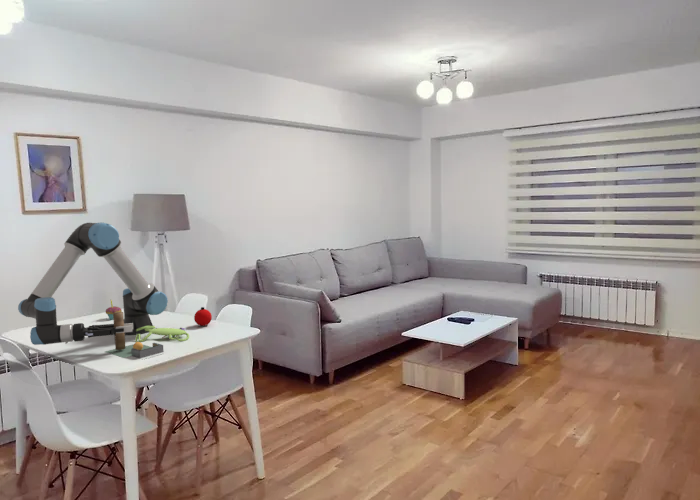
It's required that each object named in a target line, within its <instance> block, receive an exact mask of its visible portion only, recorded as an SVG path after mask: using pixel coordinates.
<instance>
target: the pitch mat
mask: <svg viewBox="0 0 700 500" xmlns="http://www.w3.org/2000/svg"><path fill="white" fill-rule="evenodd" d="M134 344H135V343H134ZM134 344H130V345H125V349H122V350H116V349H115V348H112V349H109V350H106V351H104V353H107V354H110V355H112V356H116V357H120V358H122V359H125V358H128V357H133V356H132V353H131V349H132V348H133V345H134ZM151 347H152V346H150V345H146V344H143V348H142V350H144V349H147V348H151Z"/></svg>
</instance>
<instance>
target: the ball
mask: <svg viewBox="0 0 700 500" xmlns="http://www.w3.org/2000/svg"><path fill="white" fill-rule="evenodd" d="M132 345H133V344H132ZM143 345H144V344H143V342H139V341H137V342H135V343H134V345H133V348H134V349H138V350H142V348H143Z"/></svg>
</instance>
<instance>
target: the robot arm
mask: <svg viewBox="0 0 700 500" xmlns="http://www.w3.org/2000/svg"><path fill="white" fill-rule="evenodd" d="M63 244H64V247H63V249H62V250H61V251H60V253H59V254H58V256H57V257H56V258H55V259H54V261H53V263H52V264H51V265H50V267H49V269H48V270H47V271H46V273H45V274H44V275H43V277H42V278H41V280H40V281H39V282H38V283H37V285H36V287H35V288H34V289H33V290H32V292H31V294H30V295H29V296H28V298H25V299H23V300H21V301H20V302H19V304H18V307H17V310H18V312H19V314H20V315H22V316H23V317H26V318H30V319H31V318H32V319H35V323H36V324H35V326H33V327H31V329H30V335H29V337H30V342H31V344H32V345H35V346H37V345H52V344H60V343H61V344H62V343H65V344H68V343H71V342H83V341H84V340H85V337H87V338H95V337H104V336H105V337H106V336H115V335H116V333H125V335H131V336H132V335H133V336H134V335H137V334H140V335H142V334H147V333H149V331H145V329H142V330H139V331H136V329H138V328H141V327H144V326H154V325H153V323H152V320H151V317H150V315H151V316H157V315H161V314H162V313H163V312H164V311H165V310H166V308H167V306H168V303H169V302H168V301H169V300H168V296H167V294H165V293H164V292H162V291H159V290H158V289H157V287H156V286H155V285H154V284H153V283H152V282H151V283H150V282H148V281H147V279H146V278H145V277H144V276H143V274H142V273H141V271H140V270H138V268H137V266H136V265H135V264H134V263H133V261H132V260H131V259H130V257H129V255H127V253H126V252H125V251H124V250H123V248H122V247H121V246H122V245H121V244H122V241H121V240H120V233H119V231H118V229H117V228H116V226H114V225H112V224H110V223H107V222H86V223H83V224H80V225H78V226H77V227H76V228H75V229H74V231H73V232H71V234H70V235H69V236H68V238H67V239H66V241H65V242H64V243H63ZM90 249H92V251H94V253H95V254H96V255H97V257H99V258H104V260H105V261H106V262H107V264H108V265H109V266H110V268H111V269H112V270H113V271H114V272H115V273H116V275H117V276H118V277H119V278H120V280H121V281H122V282H123V284H125V286H126V288H124V289H123V290H122V303H123V305H122V306H123V317H124V326H120V327H116V329H115V328H114V323H108V324H107V323H106V324H92V325H89V326H87V327H85V324H84V323H80V322H79V323H74V324H72V323H68V324H67V323H66V324H65V323H64V324H58V322H57V305H56V298H54V297H53V295H54V294H55V293H56V291H57V290H58V288H60V286H61V285H62V283H63V281H64V280H65V278H66V277H67V276H68V274H69V273H70V271H71V270H72V268H73V267H74V266H75V264H76V263H77V262H78V260H79V259H80V257H82V256H85V254H86V253H87V251H89V250H90Z"/></svg>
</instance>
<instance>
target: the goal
mask: <svg viewBox="0 0 700 500" xmlns="http://www.w3.org/2000/svg"><path fill="white" fill-rule="evenodd" d="M150 347H151V348H147V349H144V350H138V349H134V348H132V349H131V353H132V356H131V357H135V358H139V359H143V358H148V357H149V359H150V358H152V356H153V355H154V356H153V358H155V357H156V356H159V354H160V355H163V353H164V344H162V343H157V342H152V346H150ZM161 353H162V354H161ZM157 354H158V355H157Z"/></svg>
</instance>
